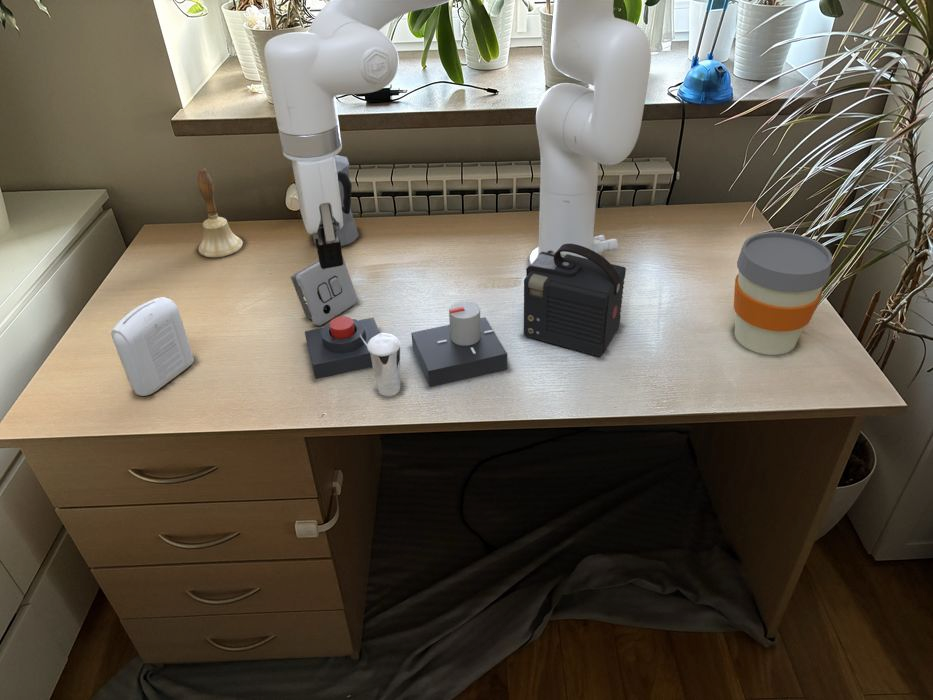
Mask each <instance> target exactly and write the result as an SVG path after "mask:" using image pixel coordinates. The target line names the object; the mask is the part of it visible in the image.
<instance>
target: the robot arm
mask: <svg viewBox="0 0 933 700" xmlns="http://www.w3.org/2000/svg"><path fill="white" fill-rule="evenodd" d="M452 1H453V0H329V1H328V2H327V3H326V4H325V5H324V7H322V9H321V10H319V12H318V13H317V14H316V16H315V18H314V19H313V20H312V22H311V24H310V26H309V28H308V29H307V32H306V31H296V32H295V31H294V32H286V33H281V34H278V35H275V36H273V37H272V38H270V39H268V41H267V42H266V43H265V45H264V48H263V56H264V62H265V67H266V72H267V77H268V82H269V88H270V94H271V99H272V103H273V109H274V114H275V115H274V116H275V120H276V124H277V130H278V135H279V140H280V145H281V150H282V155H283V157H284V158H286V159H288V160H290V161H291V165H292V171H293V177H294V182H295V183H294V184H295V189H296V195H297V200H298V206H299V211H300V215H301V218H302V223H303V225H304V228H305V231H306V233H307V234H308V235H313V233H316V237H317V239H315V241H316V244H315V245H316V252H317V258H318V261H319V263H320V266H321V268H322V269H326V268H332V267H337V266H342V265H343V259H344V256H343V250H342V247H341V244H340V239H339V236H338V230H337V228H339V229H341V228H342V227H343V215H342V206H341V198H340V190H339V183H338V176H337V170H336V163H335V157H334V156H335V155H339V153H341V151H342V149H343V144H342V143H343V142H342V135H341V130H340V121H339V115H338V114H339V113H338V108H337V107H338V106H337V101H336V96H344V95H362V94H370V93H376V92H378V91H380V90H382V89H384V88H385V87H387V86H388V85H389V84H391V82H393V80H394V79H395V77H396V75H397V73H398V71H399V65H400V57H399V53H398V49H397V46H395V44H394V42H393V41H392V40H391V39H390V38H389V37H388V36H387V35H386V34H385V33H383V32H382V31H381V30H382V29H383V28H384V27H385V26H386V25H388V24H389V23H391V22H393V21H394V20H396V19H397V18H400V17H402V16H404V15H406V14H409V13H411V12H416V11H420V10H424V9H429V8H434V7H438V6H440V5H443V4H446V3H449V2H452ZM614 1H615V0H554V3H553V17H552V28H551V39H550V40H551V42H550V58H551V62H552V65H553V66H554V68H555V69H556V70H557V71H558V72H560V73H561V74H563V75H565V76H567V77H569V78H572V79H574V80H576V81H580V82H583V83H585V84H587V85H591V86H592V87H593V88H594V89H591V88H589V87H586V86H583V85H580V84H577V83H573V82H572V83H571V82H561V83H558V84H555V85H552V86H551V87H549V88H548V89H547V90H546V91H545V92H544V93H543V94H542V96H541V97H540V99H539V101H538V103H537V107H536V111H535V112H536V113H535V125H536V126H535V128H536V134H537V139H538V140H537V141H538V145H539V155H540V180H539V181H540V183H539V214H538V215H539V217H538V219H539V220H538V246H537V247H536V248H535V249H533V250H532V251H531V253H530V255H529V261H528V262H529V266H530V265H531V264H532V263H533V262H534V261H535V259H536V258H537V257H538V255H539V253H541V252H546V253H547V252H548V251H550V250H551V251H553V252H555V253H556V252H557V250H558V249H559V248H560V247H561V246H562V245H563V244H576V245H580V246H583V247H586V248H588V249H590V250H592V251H594V252H596V253H598V254H599V255H601V254H602V253H603V252H608V251H614V250H618V248H619V242H618V239H617V238H610V239H606V237H605V235H604V234H599V235H596V236H594V235H595V221H596V210H597V209H596V208H597V196H598V183H599V165H598V164H600V165H604V166H614V165H617V164H620V163H622V162H624V160H626V159H627V158H628V157H629V155H630V154H631V153H632V151H634V148H635V146H636V145H637V141H638V139H639V136H640V131H641V127H642V121H643V117H644V116H643V115H644V109H645V102H646V96H647V90H648V84H649V77H650V72H651V63H652V52H651V44H650V41H649V38H648V36H647V34H646V33H645V31H644V29H642V28H641V27H640V26H639V25H637V24H636V23H634V22H632V21H629V20H626V19H623V18H619V17H615V14H614V3H615V2H614ZM560 254H564V255H566V254H569V255H573V256H577V257H582V258H585V257H583V256H581V255H578V254H575V253H571V252H561V253H560ZM586 259H587V258H586Z"/></svg>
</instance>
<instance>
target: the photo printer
mask: <svg viewBox="0 0 933 700" xmlns="http://www.w3.org/2000/svg"><path fill="white" fill-rule="evenodd" d="M110 336H111V339H112V343H113V344H114V347H115V350H116V352H117V354H118V357H119V360H120V363H121V364H122V368H123V371H124V373H125V375H126V378H127V380H128V383H129V385H130V387H131V389H132V390H133V392H134V394H136V395H137V396H141V397H146V396H150V395H153V394H154V393H155V392H157V391H159V390H160V389H161V388H163V387H164V386H166V385H167V384H168V383H169V382H171V381H173V379H175V378H176V377H178V376H179V375H180V374H181V373H182V372H184V371H185V370H187V369H188V368H189V367H191V365H193V364H194V362H195V358H194V353H193V352H192V349H191V345H190V341H189V337H188V336H187V332H186V329H185V325H184V323H183V319H182V316H181V313H180V310H179V308H178V306H177V305H176V303H175V302H174V301H173V300H172V299H171V298H169V297H168V298H167V297H166V296H161V297H157V298H153V299H150V300H147V301H146V302H143V303H142V304H140V305H138V306H136V307H135V308H133V309H132V310H130V311H129V312H128V313H127V314H125V315H124V316H123V317H121V319H120V320H119V321H118V322H117V323H116V324H115V326H114V327H113V328H112V329H111V332H110Z"/></svg>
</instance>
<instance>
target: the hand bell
mask: <svg viewBox="0 0 933 700" xmlns="http://www.w3.org/2000/svg"><path fill="white" fill-rule="evenodd" d="M197 171H198V172H197V173H198V174H197V186H198V190H199V193H200V195H201V197H202V198H203V200H204V203H205V206H206V210H207V216H208V218H207V219H205V220H204V221H203V222H202V229H203V231H202V232H203V237H202V241H201V242H200V244H199V246H198V253H199V254H200V255H202V256H203V257H206V258H224V257H227V256H230V255H233V254H235V253H237V252H238V251H240V250H241V249H242V247H243V244H244V241H243V239H241V238H240V237H239V236H238V235H236V234H234V232H233V231H232V229H231V228H230V225H229V223H228V220H227V219H226V218H225V217H222V216H219V215H218V210H217V206H216V203H215V187H214V182H213V179H212V177H211V175H210V174H209V173H208V171H207V168H205V167H200V168H198V169H197Z"/></svg>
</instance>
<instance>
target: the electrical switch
mask: <svg viewBox="0 0 933 700" xmlns="http://www.w3.org/2000/svg"><path fill="white" fill-rule="evenodd" d="M290 280H291V283H292V285H293V287H294V290H295V292H296V295H297V297H298V300H299V302H300V305H301V307H302V310H303V314H304V315H305V317H306V319H309V320H312V323H313V325H314V326H317V327H318V326H322V325H323V326H324V324H325V323H326V324H327V322H329V321H331V320H333V319H334V318H336V317H338V315H340V314H342V313H343V312H345V311H346V310H348V309H350V308H352V306H354V305H355V304H357V302H358V296H357V293H356V290H355V286H354V285H353V284H354V283H353V281H352V279H351V276H350V273H349V271H348V267H347V265H346V261H345V259H344V258H343V265H342V266H337V267H332V268H326V269H322V268H321V266H320V263H319V260H317V261H316V262H313V263H312V264H310V265H308V266H306V267H304V268H302V269H301V270H299V271H298V272H295V273H294V274H292V275H291V276H290Z"/></svg>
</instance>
